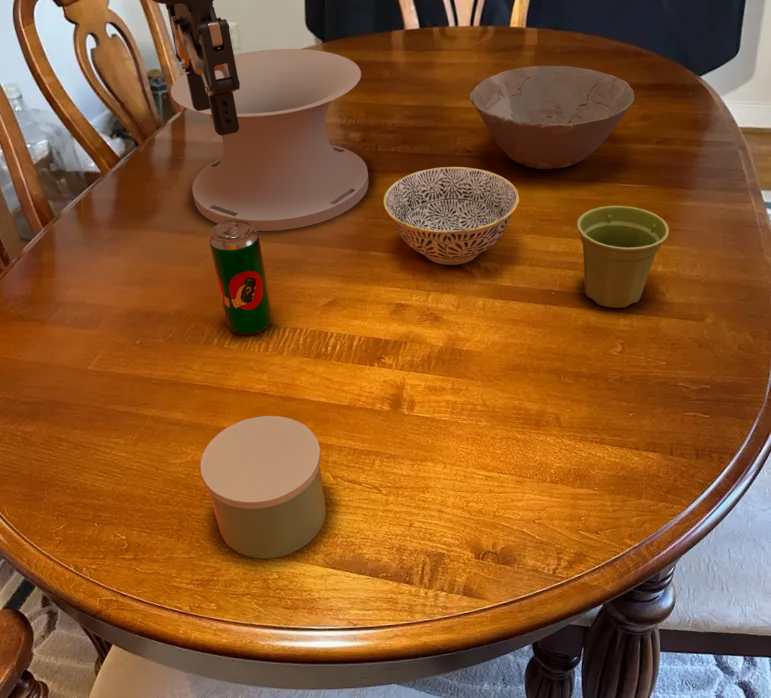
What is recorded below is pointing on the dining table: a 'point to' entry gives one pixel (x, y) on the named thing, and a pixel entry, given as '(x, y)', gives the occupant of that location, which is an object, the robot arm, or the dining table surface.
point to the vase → (281, 143)
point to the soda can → (241, 276)
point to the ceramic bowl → (551, 112)
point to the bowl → (451, 211)
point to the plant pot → (619, 252)
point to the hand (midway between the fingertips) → (215, 120)
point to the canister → (265, 485)
